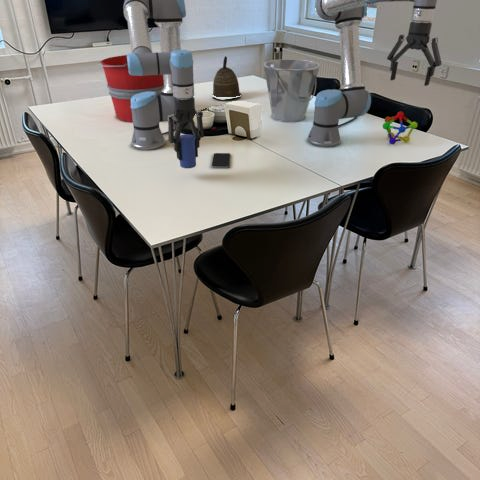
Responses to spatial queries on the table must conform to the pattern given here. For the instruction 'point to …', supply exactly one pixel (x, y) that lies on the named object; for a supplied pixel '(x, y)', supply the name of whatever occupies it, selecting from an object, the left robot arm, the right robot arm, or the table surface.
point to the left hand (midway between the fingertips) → (187, 157)
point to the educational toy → (398, 128)
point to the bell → (225, 82)
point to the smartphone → (221, 160)
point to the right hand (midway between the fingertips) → (409, 82)
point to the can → (187, 151)
